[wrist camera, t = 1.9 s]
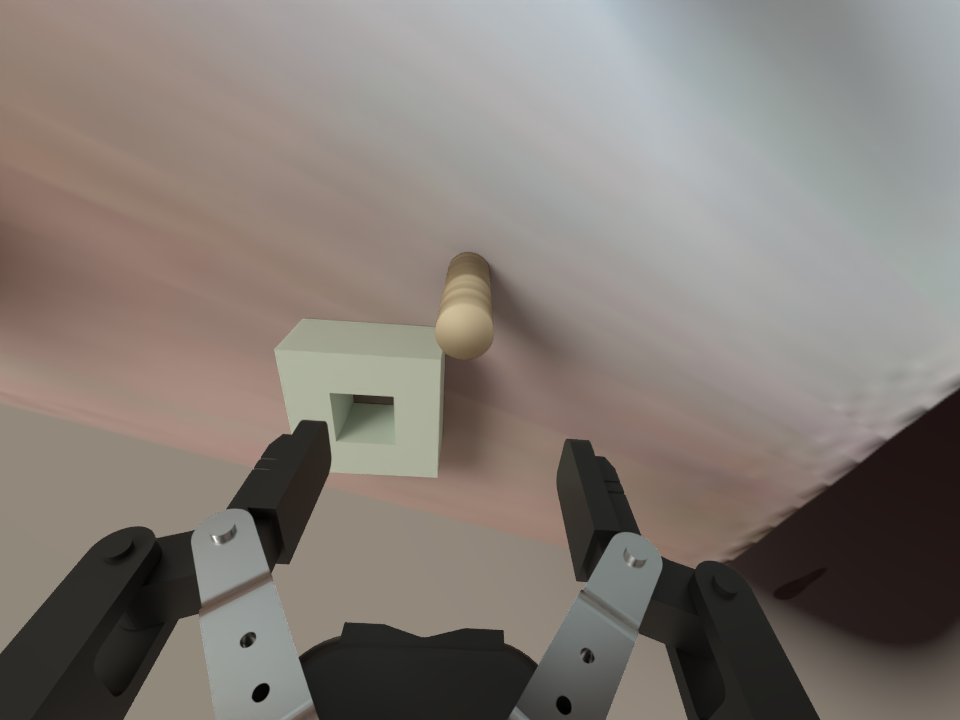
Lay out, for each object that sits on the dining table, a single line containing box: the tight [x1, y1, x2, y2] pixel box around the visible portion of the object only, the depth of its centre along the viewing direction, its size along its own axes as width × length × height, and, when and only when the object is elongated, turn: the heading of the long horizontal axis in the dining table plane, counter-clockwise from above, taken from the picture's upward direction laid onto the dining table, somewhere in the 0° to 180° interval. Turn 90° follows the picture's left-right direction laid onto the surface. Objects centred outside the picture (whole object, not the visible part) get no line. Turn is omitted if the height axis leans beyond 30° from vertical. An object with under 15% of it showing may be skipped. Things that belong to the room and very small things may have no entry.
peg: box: [435, 252, 494, 360], centre depth 25 cm, size 3×3×10 cm
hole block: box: [274, 318, 445, 478], centre depth 32 cm, size 11×11×5 cm
